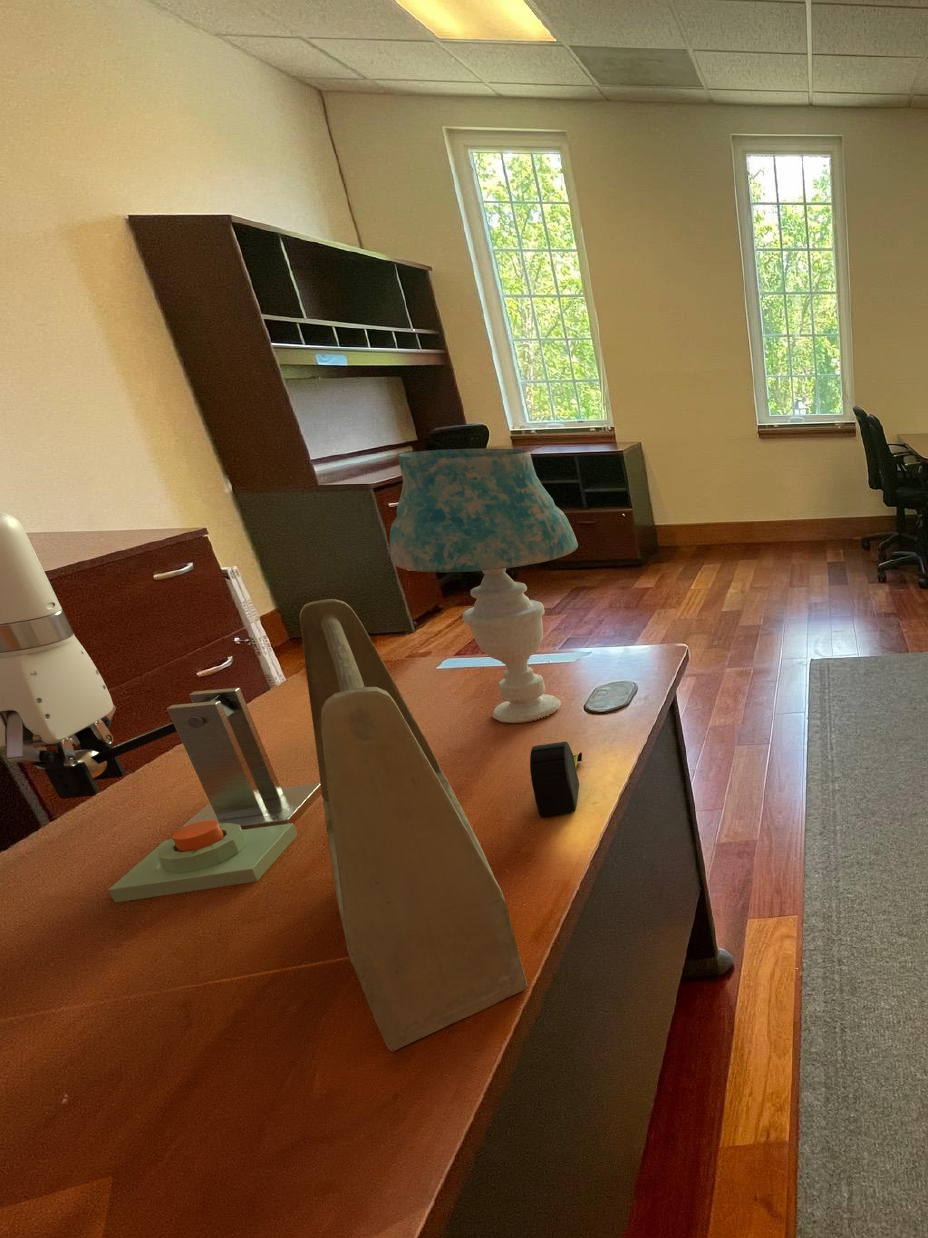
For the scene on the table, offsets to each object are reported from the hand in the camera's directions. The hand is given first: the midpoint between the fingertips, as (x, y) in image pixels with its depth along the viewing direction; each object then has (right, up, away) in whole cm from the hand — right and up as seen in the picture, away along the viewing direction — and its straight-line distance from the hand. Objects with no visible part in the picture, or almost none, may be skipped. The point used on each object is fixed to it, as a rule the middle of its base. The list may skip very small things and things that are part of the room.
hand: (93, 785), depth 81 cm
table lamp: (+30, +7, +34) cm, 47 cm away
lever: (+7, +4, +1) cm, 8 cm away
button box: (+17, -9, -3) cm, 19 cm away
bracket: (+13, -4, +6) cm, 15 cm away
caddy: (+47, -13, -12) cm, 50 cm away
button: (+17, -6, -4) cm, 18 cm away
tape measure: (+47, -2, +13) cm, 49 cm away
